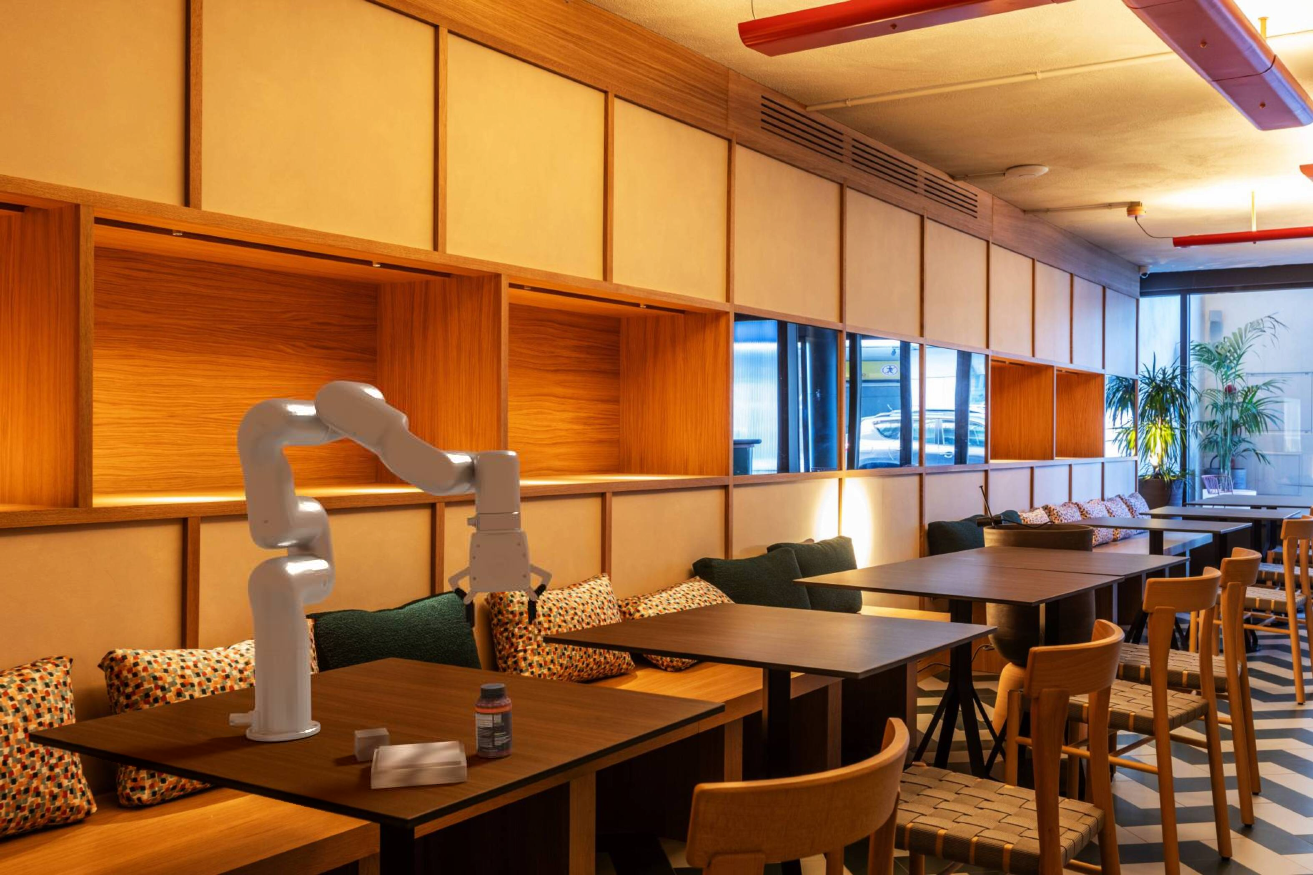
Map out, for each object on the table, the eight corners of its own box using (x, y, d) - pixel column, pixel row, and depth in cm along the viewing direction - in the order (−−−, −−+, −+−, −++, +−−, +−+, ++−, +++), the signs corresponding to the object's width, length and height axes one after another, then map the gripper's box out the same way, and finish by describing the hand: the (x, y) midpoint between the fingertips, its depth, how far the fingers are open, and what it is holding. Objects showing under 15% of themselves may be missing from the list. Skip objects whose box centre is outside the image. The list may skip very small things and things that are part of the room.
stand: (371, 788, 169) (370, 768, 169) (375, 764, 182) (374, 745, 182) (467, 781, 172) (466, 761, 172) (463, 757, 185) (463, 739, 185)
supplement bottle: (495, 747, 191) (494, 680, 192) (520, 753, 188) (519, 684, 188) (468, 755, 187) (467, 686, 187) (493, 761, 183) (492, 690, 183)
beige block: (358, 762, 185) (357, 737, 185) (354, 754, 189) (354, 730, 189) (389, 758, 186) (389, 734, 186) (385, 751, 191) (385, 727, 191)
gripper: (444, 526, 187) (447, 631, 187) (550, 522, 189) (553, 626, 189) (448, 524, 195) (451, 624, 194) (549, 520, 197) (553, 620, 196)
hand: (501, 625), depth 192 cm, fingers open, 9 cm apart
